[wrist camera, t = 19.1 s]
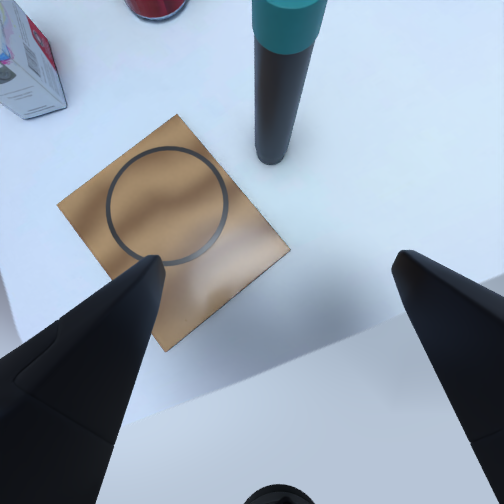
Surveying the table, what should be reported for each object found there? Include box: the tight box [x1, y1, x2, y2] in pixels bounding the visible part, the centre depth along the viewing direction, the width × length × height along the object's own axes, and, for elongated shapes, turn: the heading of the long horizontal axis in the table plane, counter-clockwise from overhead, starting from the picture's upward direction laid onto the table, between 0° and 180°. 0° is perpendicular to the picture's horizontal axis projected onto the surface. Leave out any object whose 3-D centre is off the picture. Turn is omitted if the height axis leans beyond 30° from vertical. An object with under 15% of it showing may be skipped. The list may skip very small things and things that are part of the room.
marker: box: [252, 0, 327, 165], centre depth 17 cm, size 3×3×14 cm
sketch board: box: [57, 114, 291, 352], centre depth 22 cm, size 18×15×1 cm
